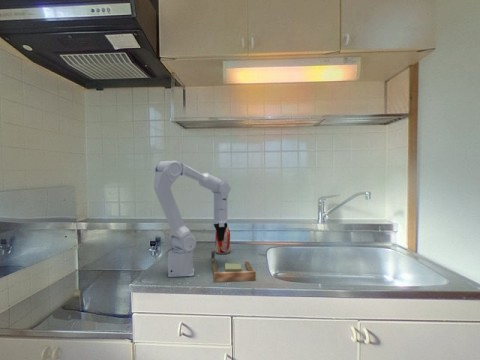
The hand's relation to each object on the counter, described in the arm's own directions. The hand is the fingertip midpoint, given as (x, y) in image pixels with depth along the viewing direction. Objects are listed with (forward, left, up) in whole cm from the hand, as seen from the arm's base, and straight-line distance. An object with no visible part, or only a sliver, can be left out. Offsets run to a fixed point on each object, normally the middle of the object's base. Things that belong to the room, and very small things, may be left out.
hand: (220, 240), depth 132 cm
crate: (+4, -15, -10) cm, 19 cm away
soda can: (+2, +17, -10) cm, 20 cm away
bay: (+4, -11, -10) cm, 15 cm away
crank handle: (-3, +5, -10) cm, 11 cm away
